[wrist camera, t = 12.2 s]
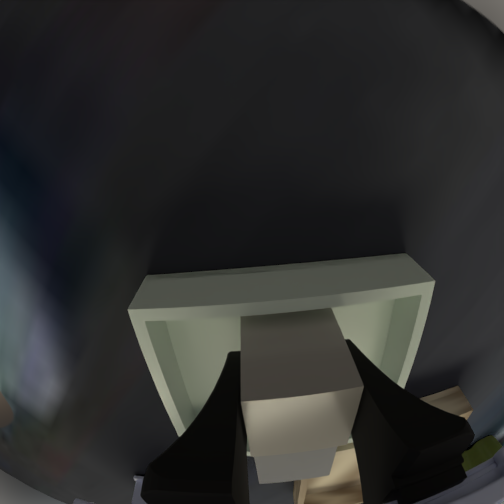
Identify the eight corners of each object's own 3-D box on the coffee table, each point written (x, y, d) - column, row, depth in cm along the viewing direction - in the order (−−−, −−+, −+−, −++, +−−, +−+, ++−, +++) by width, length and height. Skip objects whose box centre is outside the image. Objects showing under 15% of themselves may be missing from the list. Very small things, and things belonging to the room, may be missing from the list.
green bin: (193, 422, 19) (188, 456, 16) (146, 275, 14) (127, 309, 12) (372, 403, 19) (384, 434, 16) (405, 252, 14) (435, 280, 12)
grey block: (256, 419, 18) (259, 483, 14) (250, 382, 17) (253, 455, 12) (315, 413, 18) (329, 475, 14) (319, 374, 17) (338, 444, 12)
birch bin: (293, 493, 26) (295, 515, 23) (298, 423, 19) (304, 457, 17) (407, 468, 26) (414, 487, 23) (458, 385, 19) (473, 409, 17)
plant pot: (436, 479, 30) (455, 531, 20) (442, 456, 26) (469, 521, 16) (496, 443, 29) (520, 490, 19) (512, 410, 24) (546, 467, 14)
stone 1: (248, 374, 15) (251, 456, 10) (240, 312, 13) (240, 401, 9) (324, 366, 15) (347, 444, 10) (329, 304, 13) (364, 385, 9)
